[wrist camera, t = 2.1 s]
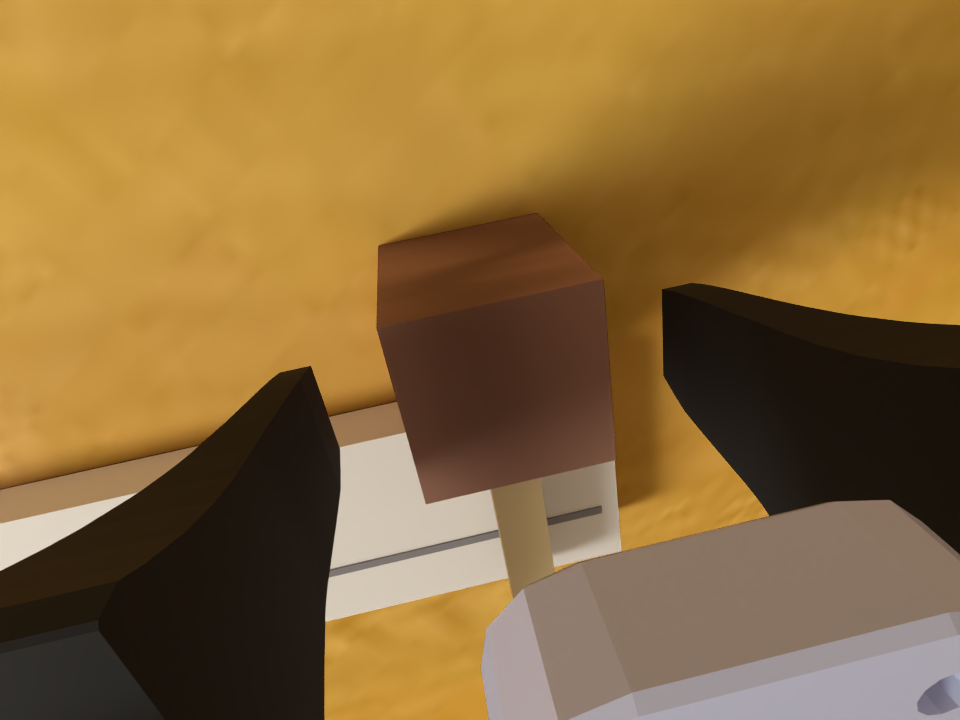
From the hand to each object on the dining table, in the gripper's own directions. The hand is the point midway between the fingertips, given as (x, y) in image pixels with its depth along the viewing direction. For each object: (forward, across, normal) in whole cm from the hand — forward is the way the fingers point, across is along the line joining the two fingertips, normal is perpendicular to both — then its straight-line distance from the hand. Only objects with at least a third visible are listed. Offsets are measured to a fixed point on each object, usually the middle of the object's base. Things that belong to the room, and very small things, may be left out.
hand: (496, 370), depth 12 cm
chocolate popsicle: (+4, 0, +3) cm, 5 cm away
